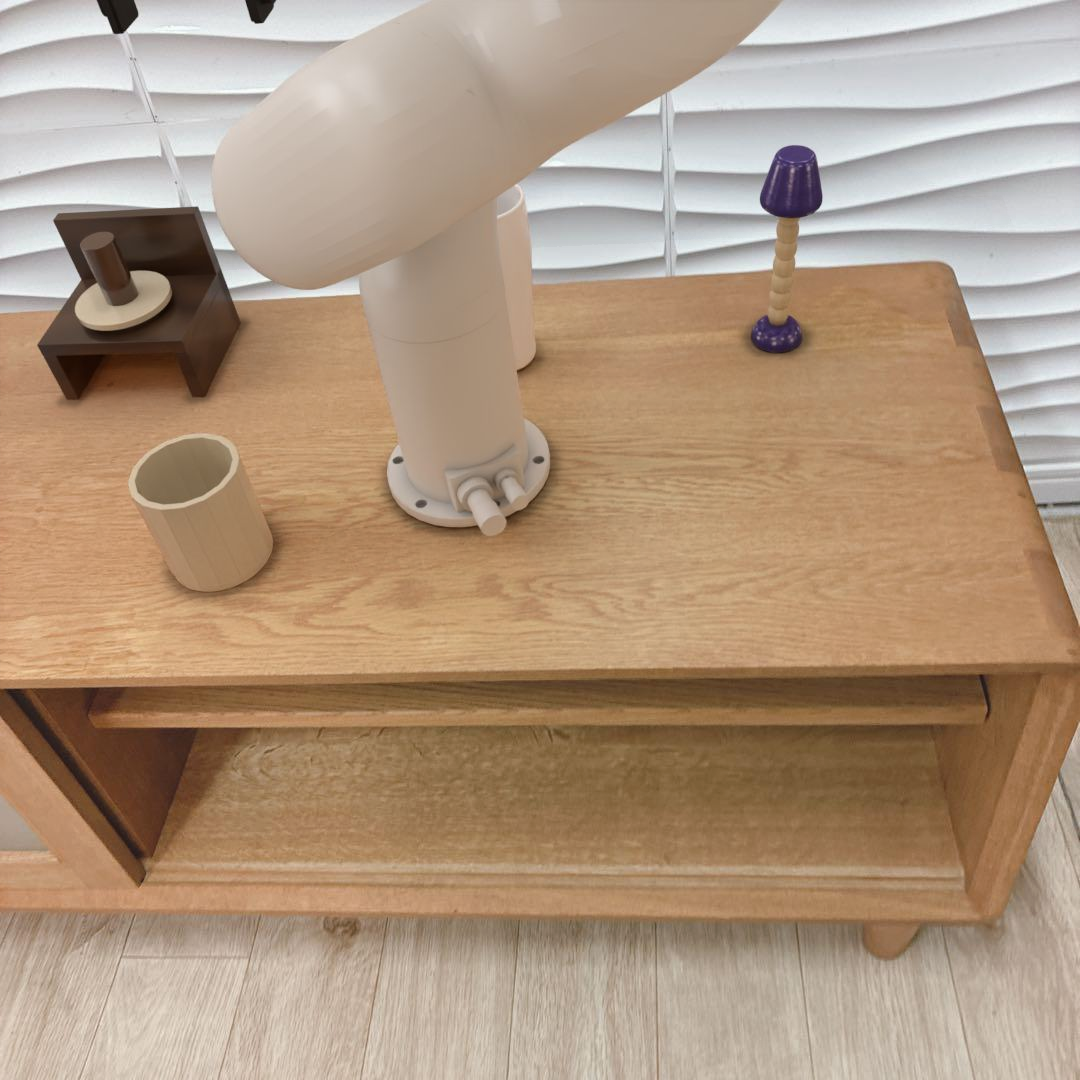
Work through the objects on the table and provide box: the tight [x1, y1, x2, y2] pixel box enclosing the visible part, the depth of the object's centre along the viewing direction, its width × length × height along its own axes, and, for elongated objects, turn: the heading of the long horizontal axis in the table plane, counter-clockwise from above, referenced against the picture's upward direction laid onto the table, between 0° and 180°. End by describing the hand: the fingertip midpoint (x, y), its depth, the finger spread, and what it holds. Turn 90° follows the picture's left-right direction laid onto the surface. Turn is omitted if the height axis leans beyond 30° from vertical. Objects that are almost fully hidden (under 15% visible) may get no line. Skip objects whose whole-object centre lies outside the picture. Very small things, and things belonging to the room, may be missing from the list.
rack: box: [36, 206, 241, 401], centre depth 94 cm, size 11×13×12 cm
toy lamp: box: [750, 144, 823, 353], centre depth 85 cm, size 5×5×17 cm
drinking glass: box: [497, 183, 537, 371], centre depth 88 cm, size 7×7×15 cm
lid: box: [75, 232, 172, 331], centre depth 91 cm, size 8×8×7 cm
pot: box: [127, 432, 274, 593], centre depth 77 cm, size 8×8×8 cm
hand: (194, 20), depth 72 cm, fingers open, 9 cm apart
